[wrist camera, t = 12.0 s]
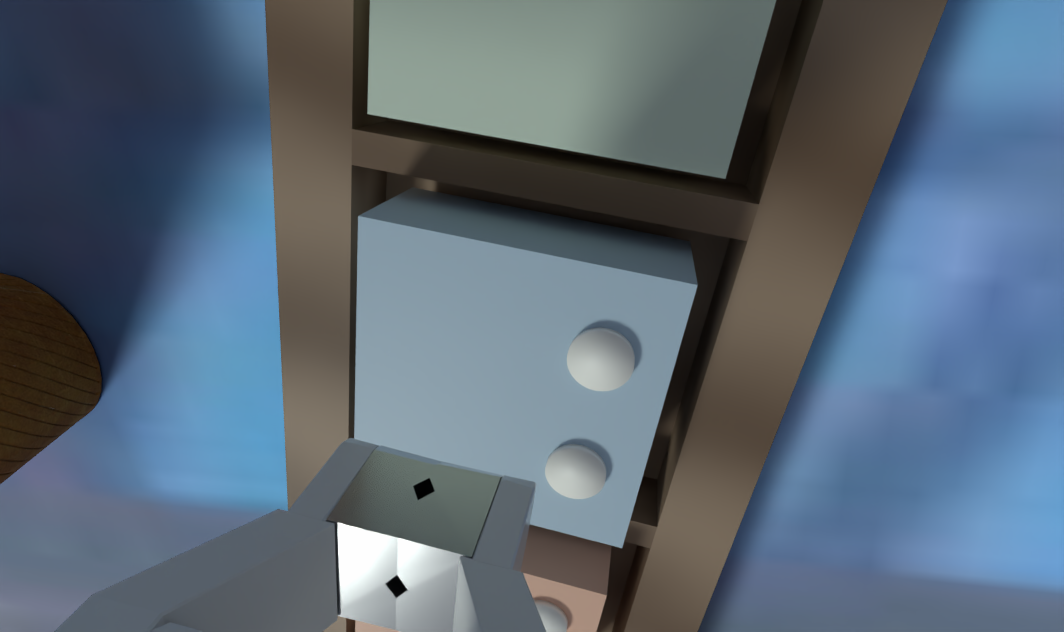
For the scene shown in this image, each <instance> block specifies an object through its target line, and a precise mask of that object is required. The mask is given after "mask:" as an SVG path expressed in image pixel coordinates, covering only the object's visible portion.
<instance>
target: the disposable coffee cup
mask: <svg viewBox="0 0 1064 632" xmlns="http://www.w3.org/2000/svg"><path fill="white" fill-rule="evenodd" d="M101 382H102V378H101V372H100V366H99V362H98V360H97V357H96V354H95V351H94V349H93V347H92V345H91V343H90V341H89V340H88V338H87V336H86V334H85V333H84V331H83V330H82V329H81V327H80V326H79V325H78V323H77V322H76V321H75V319H74V318H73V317H72V316H71V315H70V314H69V313H68V312H67V311H66V310H65V309H64V308H63V307H62V306H61V305H60V304H59V303H58V302H57V301H56V300H55V299H54V298H52V297H51V296H50V295H49V294H47V293H46V292H44V291H42V290H41V289H39V288H38V287H36V286H35V285H33V284H31V283H29V282H27V281H25V280H23V279H21V278H18V277H14V276H10V275H6V274H2V273H0V484H1V483H2V482H4V481H5V480H6V479H7V478H8V477H10V476H11V475H12V474H13V473H15V472H16V471H17V470H18V469H19V468H21V467H22V466H23V465H24V464H26V463H27V462H28V461H29V460H31V459H32V458H33V457H34V456H36V455H37V454H38V453H39V452H41V451H42V450H43V449H44V448H46V447H47V446H48V445H49V444H50V443H52V442H53V441H54V440H55V439H57V438H58V437H59V436H60V435H61V434H63V433H64V432H65V431H67V430H68V429H69V428H70V427H72V426H73V425H74V424H75V423H76V422H78V421H79V420H80V419H82V418H83V417H84V416H86V415H87V414H88V413H89V412H90V411H92V410H93V409H94V407H95V406H96V404H97V402H98V400H99V397H100V393H101Z"/></svg>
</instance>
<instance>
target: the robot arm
mask: <svg viewBox="0 0 1064 632" xmlns="http://www.w3.org/2000/svg"><path fill="white" fill-rule="evenodd" d="M535 492H536V483H535V482H533V481H528V480H524V479H519V478H515V477H510V476H506V475H500V474H495V473H491V472H487V471H482V470H478V469H474V468H469V467H465V466H461V465H456V464H452V463H448V462H443V461H438V460H435V459H431V458H427V457H423V456H420V455H416V454H412V453H408V452H405V451H401V450H397V449H393V448H389V447H386V446H382V445H381V446H379V445H375V444H371V443H368V442H364V441H360V440H357V439H353V438H349V439H347V440H346V441H344V442H342V443H341V444H340V446H339V447H338V448H337V449H336V451H335V452H334V453H333V454H332V456H331V457H330V458H329V460H328V461H327V462H326V463H325V465H324V466H323V467H322V468H321V470H320V471H319V472H318V474H317V475H316V476H315V477H314V479H313V480H312V481H311V482H310V484H309V485H308V486H307V488H306V489H305V490H304V491H303V493H302V494H301V495H300V496H299V498H298V499H297V500H296V502H295V503H294V504H293V505H292V507H291V508H290V509H289V510H288V511H284V510H280V509H277V510H275V511H273V512H271V513H269V514H266V515H264V516H262V517H260V518H258V519H256V520H253V521H251V522H249V523H247V524H245V525H243V526H240V527H238V528H236V529H234V530H232V531H230V532H227V533H225V534H223V535H221V536H219V537H216V538H214V539H212V540H210V541H208V542H206V543H203V544H201V545H199V546H197V547H195V548H193V549H190V550H188V551H186V552H184V553H182V554H180V555H177V556H175V557H173V558H171V559H169V560H167V561H164V562H162V563H160V564H158V565H156V566H154V567H151V568H149V569H147V570H145V571H143V572H140V573H138V574H136V575H134V576H132V577H130V578H127V579H125V580H123V581H121V582H119V583H117V584H114V585H112V586H110V587H108V588H106V589H104V590H101V591H99V592H97V593H95V594H93V595H91V596H90V597H89V598H88V599H87V600H86V601H85V602H84V603H83V604H82V605H81V606H80V607H79V608H78V609H77V610H76V611H75V612H74V613H73V614H72V615H71V616H70V617H69V618H68V619H67V620H66V621H65V622H64V623H63V624H62V625H60V626H59V627H58V628H57V629H56V630H55V631H54V632H322V631H324V630H325V629H326V628H328V627H329V626H330V625H332V624H333V623H334V622H336V621H337V620H338V616H340V617H344V618H348V619H352V620H356V621H361V622H365V623H369V624H373V625H377V626H381V627H385V628H389V629H393V630H397V631H400V632H546V630H545V627H544V625H543V622H542V620H541V617H540V615H539V612H538V610H537V607H536V605H535V602H534V600H533V597H532V595H531V592H530V590H529V587H528V585H527V582H526V579H525V577H524V574H523V572H520V571H521V566H522V562H523V557H524V552H525V547H526V542H527V537H528V531H529V525H530V520H531V514H532V509H533V503H534V497H535Z"/></svg>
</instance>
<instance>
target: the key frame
mask: <svg viewBox="0 0 1064 632" xmlns="http://www.w3.org/2000/svg"><path fill="white" fill-rule="evenodd" d="M947 1H948V0H776V3H775V6H774V10H773V13H772V17H771V21H770V24H769V28H768V31H767V35H766V38H765V42H764V45H763V49H762V52H761V56H760V59H759V63H758V66H757V70H756V73H755V77H754V80H753V84H752V87H751V91H750V94H749V98H748V101H747V105H746V108H745V112H744V115H743V119H742V122H741V126H740V129H739V133H738V136H737V140H736V143H735V147H734V150H733V154H732V157H731V161H730V164H729V168H728V171H727V175H726V178H725V179H723V178H717V177H712V176H706V175H701V174H695V173H690V172H684V171H679V170H673V169H668V168H662V167H657V166H651V165H646V164H640V163H635V162H629V161H624V160H618V159H613V158H607V157H602V156H596V155H591V154H585V153H580V152H574V151H569V150H563V149H558V148H552V147H547V146H541V145H536V144H530V143H525V142H519V141H514V140H508V139H503V138H497V137H492V136H486V135H481V134H475V133H470V132H464V131H459V130H453V129H447V128H442V127H436V126H431V125H425V124H420V123H414V122H409V121H403V120H398V119H392V118H387V117H381V116H376V115H370V114H367V110H368V65H369V20H370V0H265V11H266V33H267V55H268V77H269V99H270V120H271V142H272V164H273V186H274V208H275V230H276V252H277V274H278V296H279V318H280V340H281V362H282V384H283V406H284V428H285V450H286V472H287V494H288V510H289V509H290V508H291V507H292V505H293V504H294V503H295V502H296V500H297V499H298V498H299V496H300V495H301V494H302V493H303V491H304V490H305V489H306V488H307V486H308V485H309V484H310V482H311V481H312V480H313V479H314V477H315V476H316V475H317V474H318V472H319V471H320V470H321V468H322V467H323V466H324V465H325V463H326V462H327V461H328V460H329V458H330V457H331V456H332V454H333V453H334V452H335V451H336V449H337V448H338V447H339V446H340V444H341V443H342V442H344V441H346V440H347V439H349V438H353V439H354V425H355V366H356V307H357V249H358V216H359V215H361V214H363V213H365V212H367V211H368V210H370V209H372V208H374V207H376V206H378V205H380V204H382V203H384V202H386V201H388V200H389V199H391V198H393V197H395V196H397V195H399V194H401V193H403V192H405V191H407V190H408V189H410V188H412V187H414V188H419V189H424V190H429V191H434V192H440V193H445V194H450V195H455V196H460V197H465V198H470V199H475V200H480V201H486V202H491V203H496V204H501V205H506V206H511V207H516V208H521V209H527V210H532V211H537V212H542V213H547V214H552V215H557V216H562V217H568V218H573V219H578V220H583V221H588V222H593V223H598V224H603V225H609V226H614V227H619V228H624V229H629V230H634V231H639V232H644V233H650V234H655V235H660V236H665V237H670V238H675V239H680V240H685V241H690V244H691V250H692V255H693V261H694V267H695V273H696V278H697V284H698V286H697V289H696V293H695V296H694V300H693V303H692V307H691V310H690V314H689V317H688V321H687V324H686V328H685V331H684V335H683V338H682V341H681V345H680V348H679V352H678V355H677V359H676V362H675V366H674V369H673V373H672V376H671V380H670V383H669V387H668V390H667V394H666V397H665V401H664V404H663V408H662V411H661V415H660V418H659V422H658V425H657V428H656V432H655V435H654V439H653V442H652V446H651V449H650V453H649V456H648V460H647V463H646V467H645V470H644V474H643V477H642V481H641V484H640V488H639V491H638V495H637V498H636V502H635V505H634V509H633V512H632V515H631V519H630V522H629V526H628V529H627V533H626V536H625V540H624V543H623V547H622V548H619V547H615V546H611V557H610V567H609V578H608V588H607V597H606V600H605V604H604V607H603V611H602V614H601V618H600V621H599V625H598V628H597V632H698V629H699V627H700V624H701V622H702V619H703V617H704V614H705V612H706V609H707V607H708V604H709V602H710V599H711V597H712V594H713V592H714V589H715V587H716V584H717V581H718V579H719V576H720V574H721V571H722V569H723V566H724V564H725V561H726V559H727V556H728V554H729V551H730V549H731V546H732V544H733V541H734V539H735V536H736V533H737V531H738V528H739V526H740V523H741V521H742V518H743V516H744V513H745V511H746V508H747V506H748V503H749V501H750V498H751V496H752V493H753V491H754V488H755V486H756V483H757V480H758V478H759V475H760V473H761V470H762V468H763V465H764V463H765V460H766V458H767V455H768V453H769V450H770V448H771V445H772V443H773V440H774V438H775V435H776V433H777V430H778V427H779V425H780V422H781V420H782V417H783V415H784V412H785V410H786V407H787V405H788V402H789V400H790V397H791V395H792V392H793V390H794V387H795V385H796V382H797V379H798V377H799V374H800V372H801V369H802V367H803V364H804V362H805V359H806V357H807V354H808V352H809V349H810V347H811V344H812V342H813V339H814V337H815V334H816V332H817V329H818V326H819V324H820V321H821V319H822V316H823V314H824V311H825V309H826V306H827V304H828V301H829V299H830V296H831V294H832V291H833V289H834V286H835V284H836V281H837V279H838V276H839V273H840V271H841V268H842V266H843V263H844V261H845V258H846V256H847V253H848V251H849V248H850V246H851V243H852V241H853V238H854V236H855V233H856V231H857V228H858V225H859V223H860V220H861V218H862V215H863V213H864V210H865V208H866V205H867V203H868V200H869V198H870V195H871V193H872V190H873V188H874V185H875V183H876V180H877V178H878V175H879V172H880V170H881V167H882V165H883V162H884V160H885V157H886V155H887V152H888V150H889V147H890V145H891V142H892V140H893V137H894V135H895V132H896V130H897V127H898V125H899V122H900V119H901V117H902V114H903V112H904V109H905V107H906V104H907V102H908V99H909V97H910V94H911V92H912V89H913V87H914V84H915V82H916V79H917V77H918V74H919V71H920V69H921V66H922V64H923V61H924V59H925V56H926V54H927V51H928V49H929V46H930V44H931V41H932V39H933V36H934V34H935V31H936V29H937V26H938V24H939V21H940V18H941V16H942V13H943V11H944V8H945V6H946V3H947ZM322 632H355V620H352V619H348V618H344V617H340V616H338V620H337V621H336V622H334V623H333V624H332V625H330V626H329V627H328V628H326V629H325V630H324V631H322Z"/></svg>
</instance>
